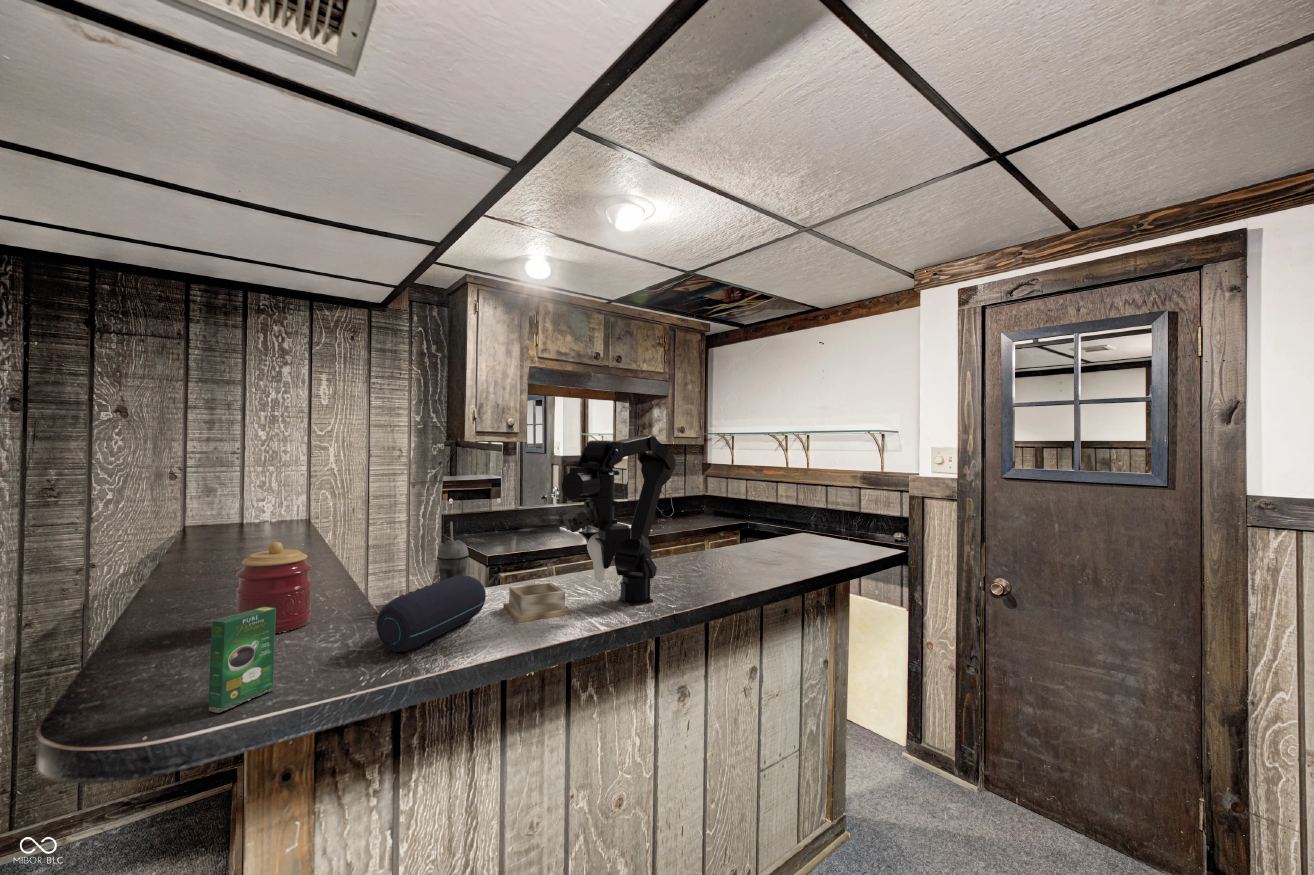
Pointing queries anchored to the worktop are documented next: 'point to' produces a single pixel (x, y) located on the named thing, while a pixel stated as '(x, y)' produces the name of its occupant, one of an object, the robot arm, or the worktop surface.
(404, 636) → the portable speaker
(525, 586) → the box
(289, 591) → the canister
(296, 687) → the worktop surface
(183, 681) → the worktop surface
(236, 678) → the coffee box
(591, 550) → the lightbulb
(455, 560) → the beverage cup
